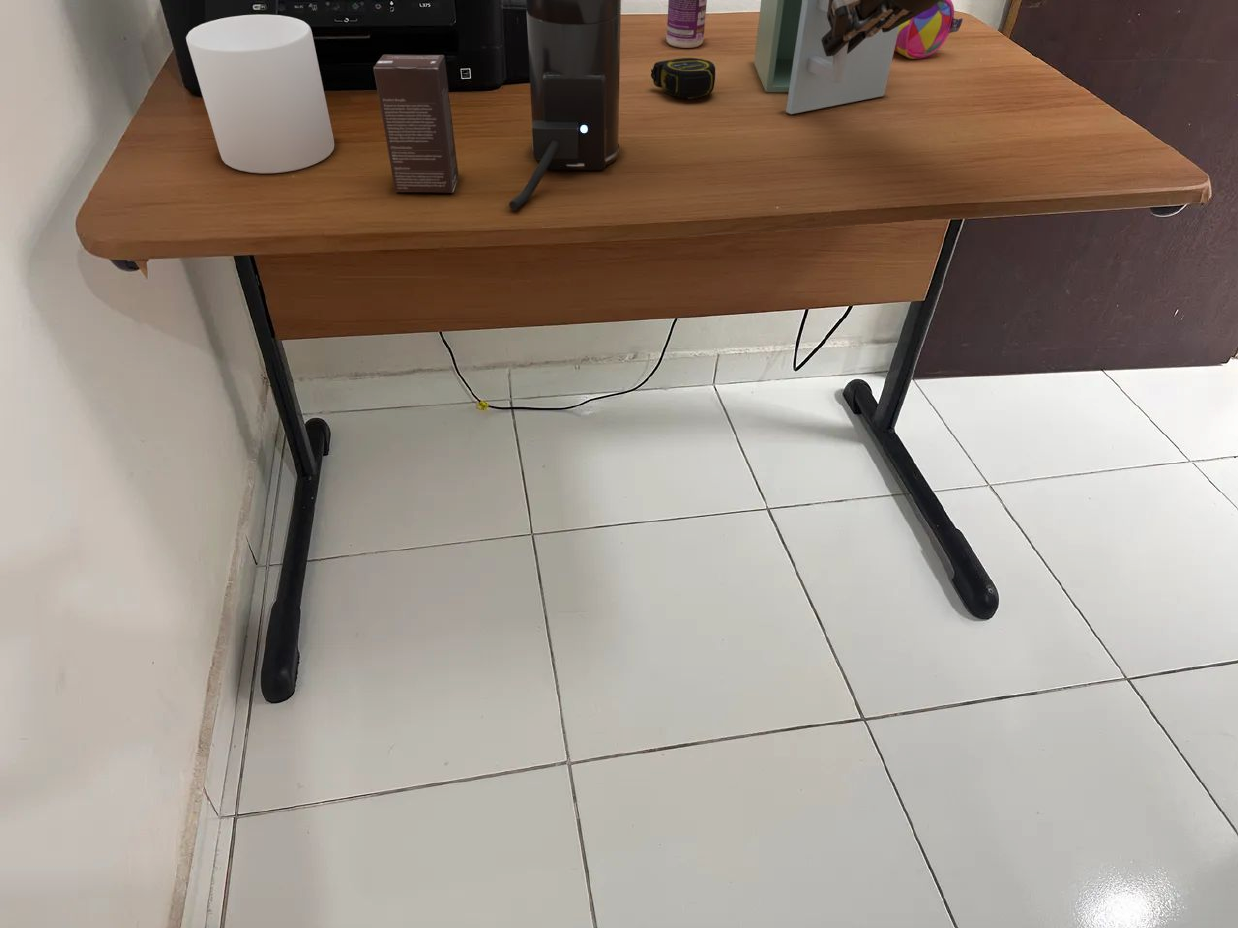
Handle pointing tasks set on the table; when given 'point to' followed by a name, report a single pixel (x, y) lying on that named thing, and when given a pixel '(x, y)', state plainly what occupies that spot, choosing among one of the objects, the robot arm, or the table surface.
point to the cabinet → (777, 43)
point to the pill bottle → (686, 23)
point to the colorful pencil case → (927, 31)
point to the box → (417, 122)
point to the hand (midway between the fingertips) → (833, 47)
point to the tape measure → (684, 77)
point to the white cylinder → (262, 92)
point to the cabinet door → (836, 64)
